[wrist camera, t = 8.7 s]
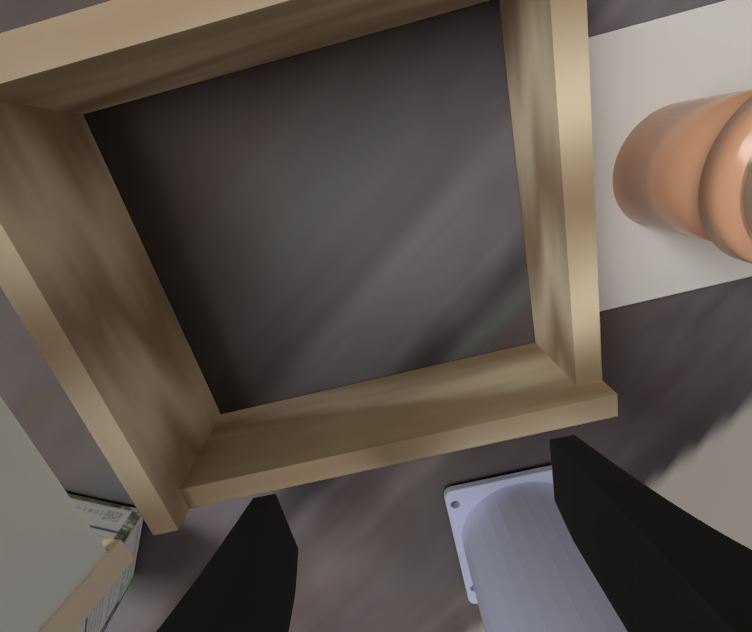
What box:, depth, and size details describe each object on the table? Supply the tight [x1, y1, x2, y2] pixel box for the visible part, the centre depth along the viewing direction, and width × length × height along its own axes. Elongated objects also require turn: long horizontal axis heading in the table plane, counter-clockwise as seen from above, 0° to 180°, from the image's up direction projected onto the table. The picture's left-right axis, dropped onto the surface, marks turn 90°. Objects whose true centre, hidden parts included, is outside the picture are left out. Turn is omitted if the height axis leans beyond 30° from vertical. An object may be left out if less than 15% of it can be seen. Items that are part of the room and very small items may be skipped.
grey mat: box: [588, 0, 752, 311], centre depth 17 cm, size 11×9×1 cm
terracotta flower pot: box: [612, 89, 752, 263], centre depth 14 cm, size 6×6×6 cm
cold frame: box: [0, 0, 618, 535], centre depth 15 cm, size 16×18×6 cm
